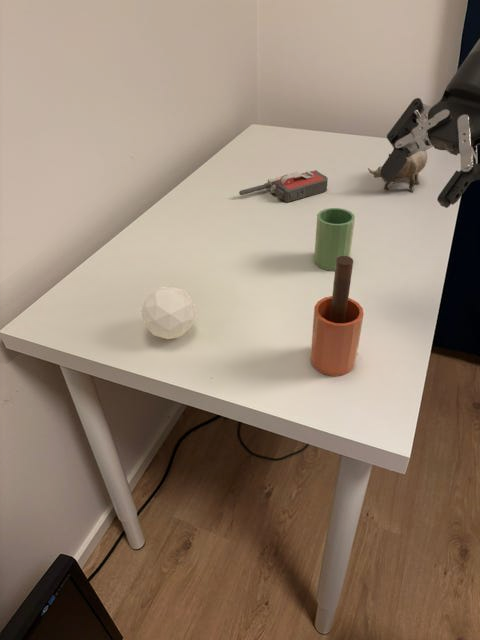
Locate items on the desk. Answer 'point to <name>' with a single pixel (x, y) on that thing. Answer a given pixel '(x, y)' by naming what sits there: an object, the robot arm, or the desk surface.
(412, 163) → the rhinoceros figurine
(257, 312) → the desk surface
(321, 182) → the walkie-talkie
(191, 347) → the desk surface
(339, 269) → the muddler
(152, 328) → the geometric ball
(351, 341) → the terracotta cup
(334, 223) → the green cup
